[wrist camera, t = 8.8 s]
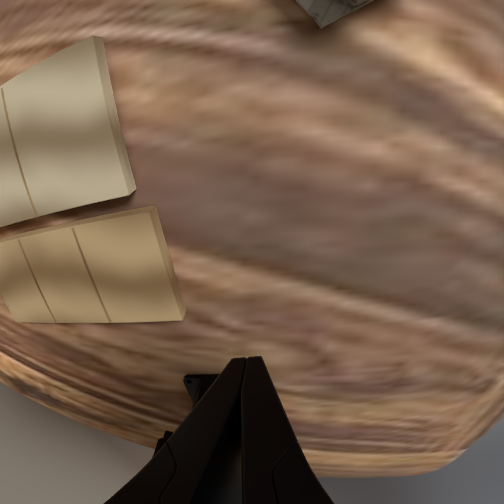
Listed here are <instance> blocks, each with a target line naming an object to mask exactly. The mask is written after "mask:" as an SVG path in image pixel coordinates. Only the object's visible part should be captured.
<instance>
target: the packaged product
mask: <svg viewBox="0 0 504 504" xmlns="http://www.w3.org/2000/svg"><path fill="white" fill-rule="evenodd" d="M295 1H296V2H297V3H298V4H299V5H300V6H301V7H302V8H303V9H304V10H305V11H306V12H307V13H308V14H309V15H310V16H311V17H312V18H313V19H314V20H315V22H316V23H317V24H318V26H319V27H320V28H321V29H322V28H324V27H325V26H327V25H329V24H331V23H333V22H334V21H336V20H338V19H340V18H342V17H343V16H345V15H347V14H349V13H351V12H353V11H355V10H357V9H358V8H360V7H362V6H364V5H366V4H368V3H370V2H372V1H374V0H295Z"/></svg>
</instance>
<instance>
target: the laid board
mask: <svg viewBox="0 0 504 504" xmlns="http://www.w3.org/2000/svg"><path fill="white" fill-rule="evenodd" d="M0 292H1V294H2V296H3V298H4V300H5V302H6V304H7V306H8V308H9V310H10V312H11V314H12V315H13V317H14V319H15V321H16V322H35V323H123V322H156V321H179V320H183V318H184V315H185V313H186V307H185V304H184V301H183V298H182V294H181V291H180V288H179V285H178V282H177V278H176V275H175V272H174V268H173V265H172V262H171V258H170V255H169V251H168V248H167V244H166V241H165V237H164V234H163V230H162V226H161V223H160V219H159V215H158V211H157V208H156V205H155V206H149V207H143V208H138V209H133V210H127V211H122V212H117V213H111V214H106V215H101V216H96V217H91V218H87V219H82V220H77V221H72V222H68V223H63V224H59V225H54V226H50V227H45V228H41V229H37V230H33V231H28V232H24V233H20V234H16V235H12V236H8V237H4V238H0Z"/></svg>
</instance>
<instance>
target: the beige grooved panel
mask: <svg viewBox="0 0 504 504" xmlns="http://www.w3.org/2000/svg"><path fill="white" fill-rule="evenodd" d="M136 189H137V188H136V185H135V181H134V177H133V174H132V170H131V166H130V163H129V159H128V155H127V151H126V147H125V143H124V139H123V135H122V131H121V127H120V122H119V118H118V114H117V109H116V105H115V100H114V95H113V91H112V86H111V81H110V76H109V70H108V65H107V60H106V54H105V48H104V42H103V37H98V36H91V37H89V38H87V39H84V40H82V41H80V42H78V43H76V44H74V45H72V46H70V47H67V48H65V49H63V50H61V51H59V52H58V53H56V54H54V55H52V56H50V57H48V58H46V59H44V60H43V61H41V62H39V63H37V64H35V65H34V66H32V67H30V68H29V69H27V70H25V71H24V72H22V73H20V74H19V75H17V76H15V77H14V78H12V79H11V80H9V81H8V82H6V83H5V84H3V85H2V86H0V227H3V226H6V225H10V224H13V223H17V222H20V221H24V220H27V219H31V218H35V217H39V216H42V215H46V214H50V213H54V212H58V211H62V210H66V209H70V208H74V207H78V206H83V205H87V204H91V203H96V202H100V201H105V200H109V199H114V198H118V197H123V196H128V195H130V194H131V193H132V192H133V191H134V190H136Z"/></svg>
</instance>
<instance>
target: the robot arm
mask: <svg viewBox="0 0 504 504" xmlns="http://www.w3.org/2000/svg"><path fill="white" fill-rule="evenodd" d="M183 381H184V384H185V386H186V388H187V390H188V392H189V395H190V397H191V399H192V401H193V406H192V410H191V412H190V413H189V414H188V416H187V417H186V418H185V419H184V421H183V422H182V423H181V424H180V426H179V427H178V428H177V429H176V431H175V432H174V433H173V432H170V431H165V434H164V437H163V438H161V439H158V442H157V445H156V449H155V452H154V455H153V457H152V459H151V460H150V461H149V463H148V464H147V465H146V466H145V467H144V468H143V469H142V470H141V471H140V472H138V474H136V476H134V477H133V478H132V479H131V480H130V481H129V482H128V483H127V484H126V485H124V486H123V487H122V488H121V489H120V490H119V491H118V492H117V493H116V494H114V495H113V496H112V497H111V498H110V499H109V500H108V501H106V502H105V503H104V504H334V503H333V501H332V500H331V498H330V497H329V496H328V494H327V493H326V491H325V490H324V488H323V487H322V485H321V484H320V482H319V481H318V480H317V478H316V476H315V474H314V473H313V471H312V470H311V468H310V466H309V464H308V462H307V460H306V458H305V456H304V454H303V451H302V449H301V447H300V445H299V443H298V440H297V438H296V436H295V434H294V431H293V429H292V427H291V424H290V422H289V420H288V418H287V415H286V413H285V411H284V408H283V406H282V404H281V401H280V399H279V397H278V394H277V392H276V389H275V387H274V385H273V382H272V380H271V378H270V375H269V373H268V370H267V368H266V366H265V363H264V361H263V359H262V357H261V356H254V357H248V358H245V357H241V358H233V359H231V361H230V362H229V363H228V364H227V366H226V367H225V368H224V370H223V371H222V372H221V374H211V375H186V376H185V377H184V380H183Z"/></svg>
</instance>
